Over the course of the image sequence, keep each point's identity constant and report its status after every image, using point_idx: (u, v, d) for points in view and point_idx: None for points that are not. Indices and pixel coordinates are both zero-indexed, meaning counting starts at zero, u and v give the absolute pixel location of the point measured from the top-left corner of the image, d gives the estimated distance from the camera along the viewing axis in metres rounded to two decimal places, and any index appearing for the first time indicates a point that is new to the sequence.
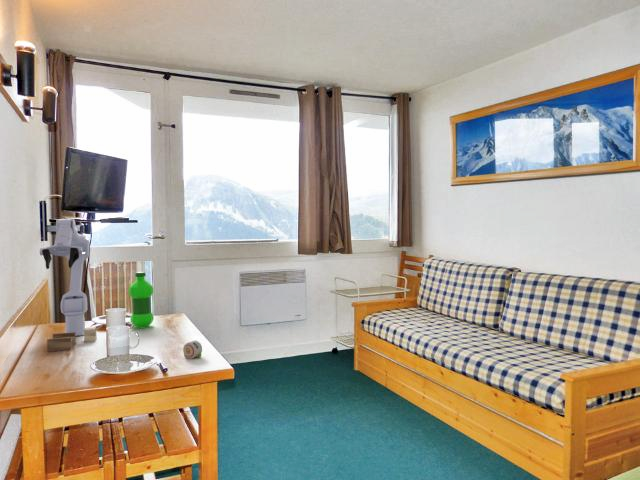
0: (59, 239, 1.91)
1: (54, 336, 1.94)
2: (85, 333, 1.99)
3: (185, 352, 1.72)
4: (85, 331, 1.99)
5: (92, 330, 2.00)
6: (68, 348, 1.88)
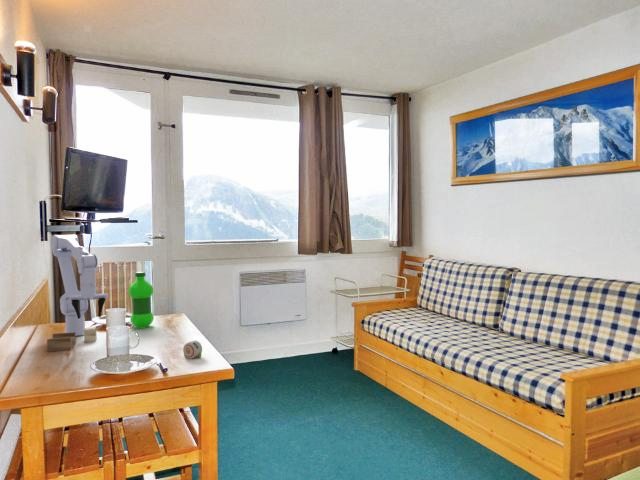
0: (85, 289, 1.98)
1: (54, 336, 1.94)
2: (85, 333, 1.99)
3: (185, 352, 1.72)
4: (85, 331, 1.99)
5: (92, 330, 2.00)
6: (68, 348, 1.88)
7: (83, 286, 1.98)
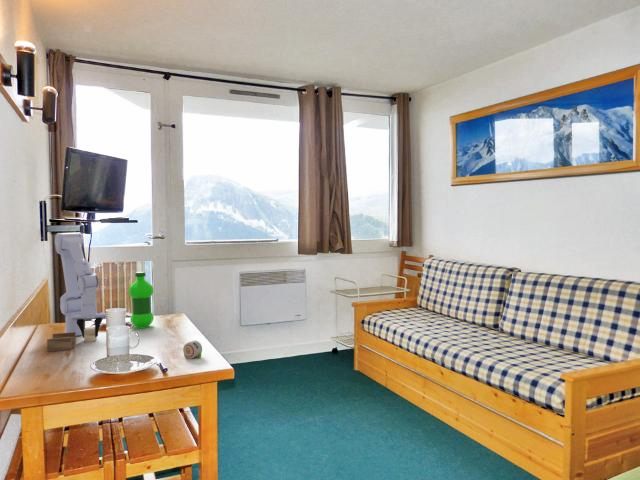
0: (86, 309, 1.98)
1: (54, 336, 1.94)
2: (85, 332, 1.99)
3: (185, 352, 1.72)
4: (85, 331, 1.99)
5: (92, 330, 2.00)
6: (68, 348, 1.88)
7: (84, 306, 1.98)
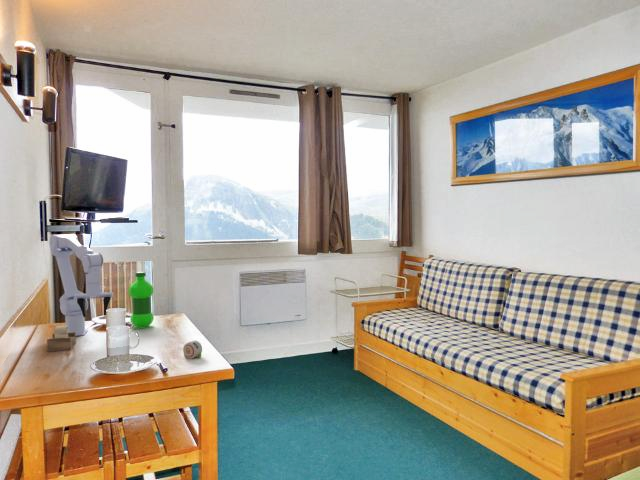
0: (90, 288, 1.98)
1: (54, 336, 1.94)
2: (56, 331, 1.89)
3: (185, 352, 1.72)
4: (56, 330, 1.89)
5: (63, 328, 1.89)
6: (68, 348, 1.88)
7: (89, 285, 1.98)
